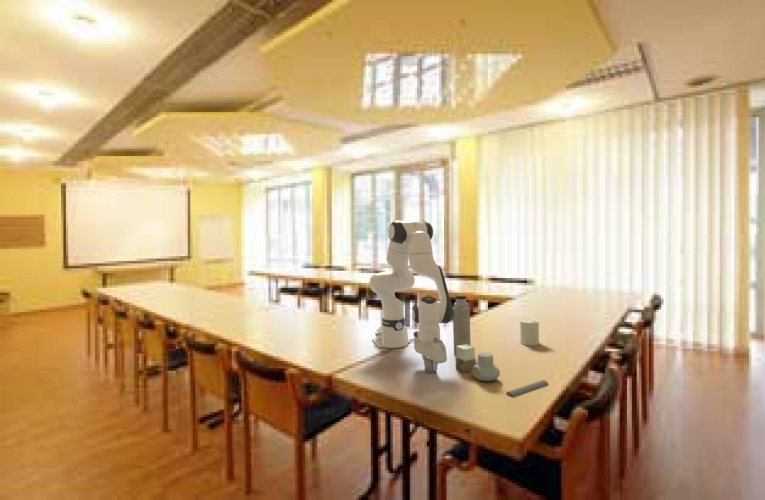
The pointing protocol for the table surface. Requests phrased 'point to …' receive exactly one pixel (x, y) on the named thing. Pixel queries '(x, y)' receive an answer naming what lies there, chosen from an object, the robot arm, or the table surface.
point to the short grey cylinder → (429, 365)
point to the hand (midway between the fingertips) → (430, 367)
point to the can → (529, 331)
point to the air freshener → (485, 368)
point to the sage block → (465, 352)
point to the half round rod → (528, 388)
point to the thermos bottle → (461, 322)
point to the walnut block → (465, 365)
